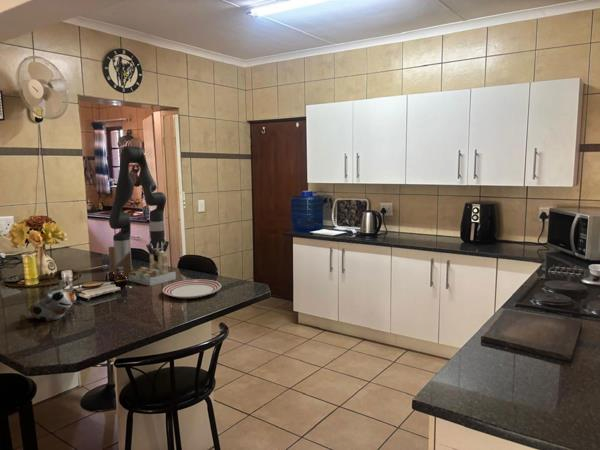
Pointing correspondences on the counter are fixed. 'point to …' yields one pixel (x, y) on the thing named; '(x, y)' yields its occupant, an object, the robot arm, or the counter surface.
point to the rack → (152, 278)
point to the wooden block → (124, 262)
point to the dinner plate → (192, 288)
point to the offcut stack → (147, 272)
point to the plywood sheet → (159, 262)
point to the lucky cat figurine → (53, 305)
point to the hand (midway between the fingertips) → (158, 260)
